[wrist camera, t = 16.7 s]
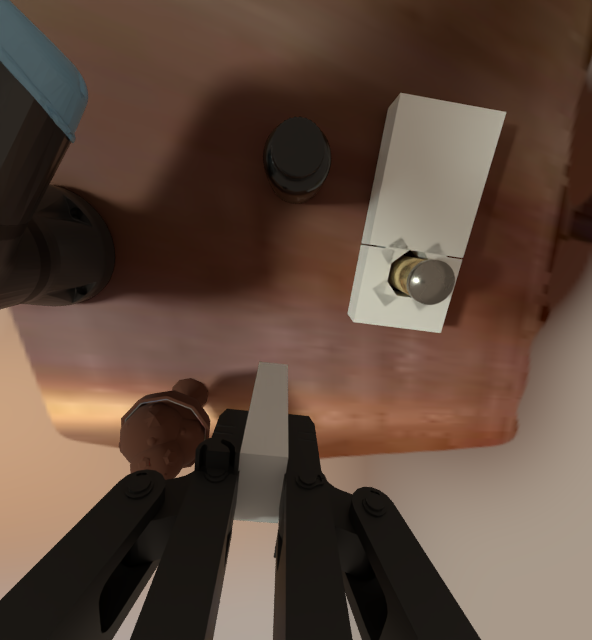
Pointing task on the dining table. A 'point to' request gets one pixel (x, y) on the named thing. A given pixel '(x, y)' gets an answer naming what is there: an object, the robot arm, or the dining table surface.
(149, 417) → the ice cream bowl
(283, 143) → the supplement bottle
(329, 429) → the dining table surface
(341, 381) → the dining table surface
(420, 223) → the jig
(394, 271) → the gold grey cylinder
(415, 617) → the robot arm
